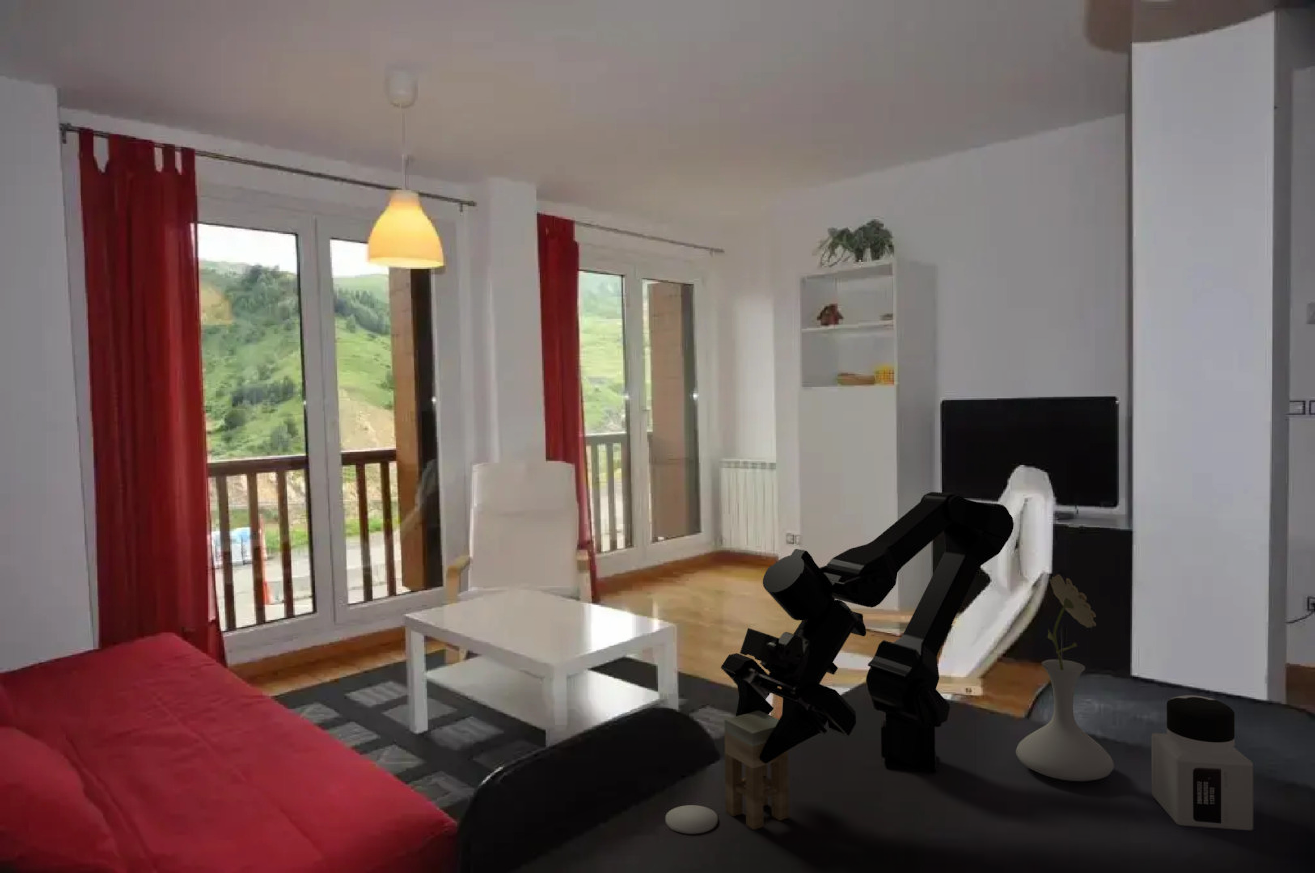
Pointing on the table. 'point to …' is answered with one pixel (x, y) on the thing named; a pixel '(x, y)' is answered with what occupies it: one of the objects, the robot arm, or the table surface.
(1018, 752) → the flower in vase
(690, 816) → the mat
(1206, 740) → the container
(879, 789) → the table surface
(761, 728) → the stool
